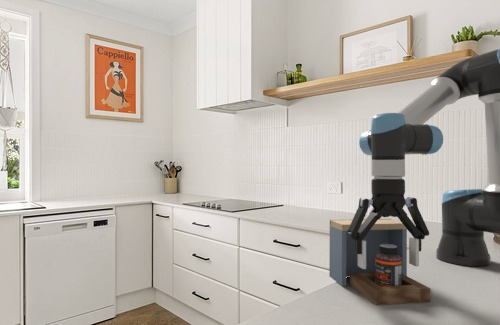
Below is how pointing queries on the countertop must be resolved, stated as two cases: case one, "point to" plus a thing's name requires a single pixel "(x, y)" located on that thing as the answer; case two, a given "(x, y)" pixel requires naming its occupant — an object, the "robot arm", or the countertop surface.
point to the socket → (389, 290)
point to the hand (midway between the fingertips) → (388, 266)
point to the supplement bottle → (388, 266)
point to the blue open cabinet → (380, 233)
